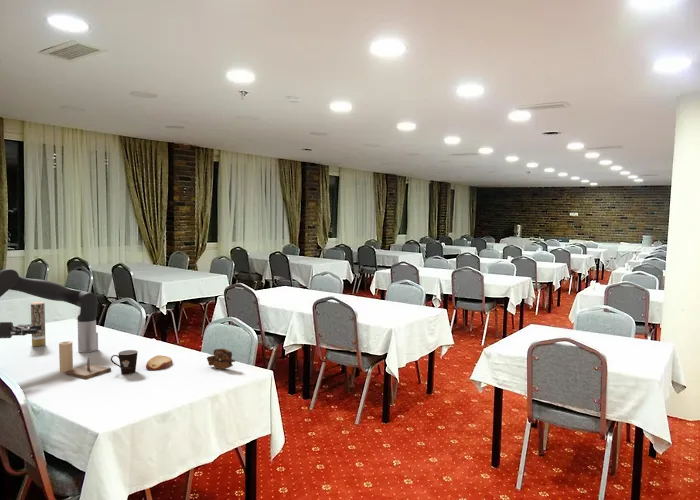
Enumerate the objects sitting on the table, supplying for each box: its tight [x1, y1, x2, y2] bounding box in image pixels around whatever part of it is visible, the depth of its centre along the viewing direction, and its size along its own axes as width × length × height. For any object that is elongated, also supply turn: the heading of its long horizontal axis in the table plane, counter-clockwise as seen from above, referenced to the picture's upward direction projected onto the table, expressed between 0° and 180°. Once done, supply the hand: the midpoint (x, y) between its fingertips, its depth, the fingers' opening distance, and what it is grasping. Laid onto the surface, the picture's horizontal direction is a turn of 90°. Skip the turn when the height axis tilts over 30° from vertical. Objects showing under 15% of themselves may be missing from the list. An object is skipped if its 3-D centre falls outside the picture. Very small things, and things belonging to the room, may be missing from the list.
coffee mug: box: [110, 349, 139, 375], centre depth 251 cm, size 12×9×10 cm
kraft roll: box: [58, 341, 74, 374], centre depth 251 cm, size 5×5×14 cm
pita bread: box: [145, 354, 173, 372], centre depth 264 cm, size 18×18×4 cm
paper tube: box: [30, 301, 47, 347], centre depth 299 cm, size 7×7×25 cm
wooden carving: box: [206, 348, 236, 370], centre depth 258 cm, size 16×5×10 cm, turn 70°
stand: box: [65, 357, 112, 380], centre depth 249 cm, size 14×14×8 cm
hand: (39, 329), depth 246 cm, fingers open, 8 cm apart
